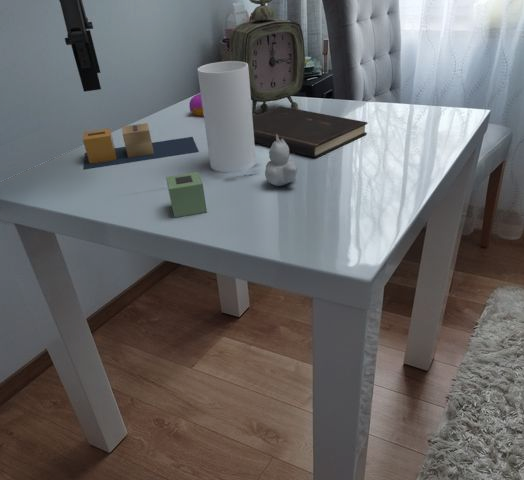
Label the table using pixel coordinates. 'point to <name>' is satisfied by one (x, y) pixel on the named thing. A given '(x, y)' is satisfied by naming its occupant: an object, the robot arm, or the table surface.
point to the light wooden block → (137, 140)
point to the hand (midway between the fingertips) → (92, 81)
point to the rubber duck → (280, 164)
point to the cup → (228, 115)
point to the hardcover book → (305, 130)
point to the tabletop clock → (269, 55)
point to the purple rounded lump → (196, 105)
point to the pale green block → (186, 194)
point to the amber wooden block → (99, 146)
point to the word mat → (159, 149)
